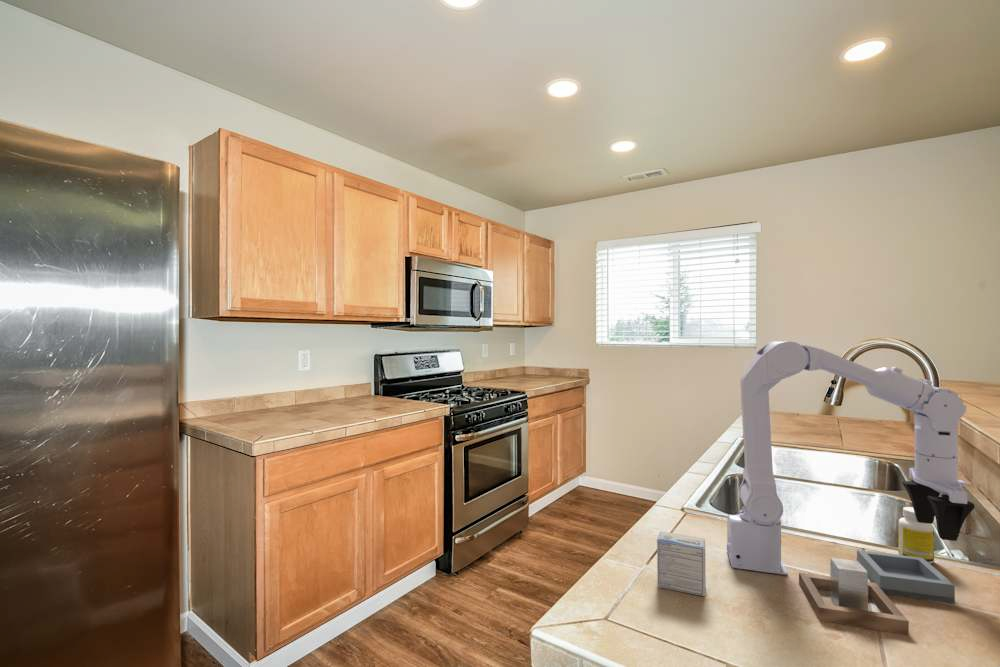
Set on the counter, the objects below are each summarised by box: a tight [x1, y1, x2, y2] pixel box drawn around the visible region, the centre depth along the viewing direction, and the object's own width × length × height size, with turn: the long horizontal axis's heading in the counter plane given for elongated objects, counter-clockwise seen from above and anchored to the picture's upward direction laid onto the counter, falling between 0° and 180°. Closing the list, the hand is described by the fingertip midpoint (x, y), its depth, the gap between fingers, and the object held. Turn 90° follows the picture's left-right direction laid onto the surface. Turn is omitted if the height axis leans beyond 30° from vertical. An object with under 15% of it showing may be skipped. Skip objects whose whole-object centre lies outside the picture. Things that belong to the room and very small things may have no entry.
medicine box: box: [656, 530, 707, 597], centre depth 85 cm, size 8×4×9 cm, turn 65°
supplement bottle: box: [897, 506, 935, 565], centre depth 96 cm, size 5×5×10 cm
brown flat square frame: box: [798, 572, 910, 635], centre depth 79 cm, size 12×12×2 cm
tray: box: [856, 549, 956, 604], centre depth 86 cm, size 10×10×3 cm
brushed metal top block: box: [829, 557, 869, 611], centre depth 79 cm, size 4×4×7 cm
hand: (935, 530), depth 85 cm, fingers open, 7 cm apart
